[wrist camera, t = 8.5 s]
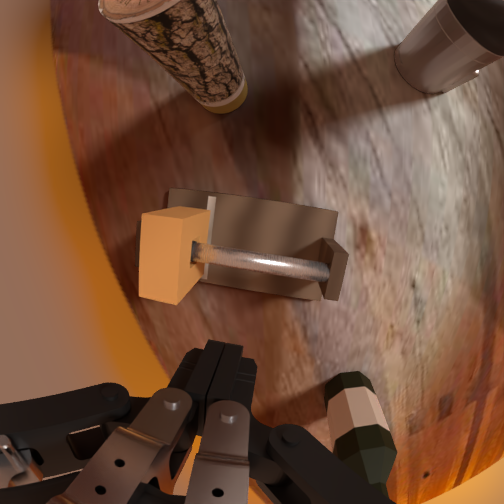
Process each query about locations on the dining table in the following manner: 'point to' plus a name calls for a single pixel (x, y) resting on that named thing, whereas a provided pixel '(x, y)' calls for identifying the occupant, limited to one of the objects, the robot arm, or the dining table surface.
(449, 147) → the dining table surface
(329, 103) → the dining table surface
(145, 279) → the collar
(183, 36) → the bark log section
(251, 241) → the pipe stand
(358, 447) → the wine bottle
